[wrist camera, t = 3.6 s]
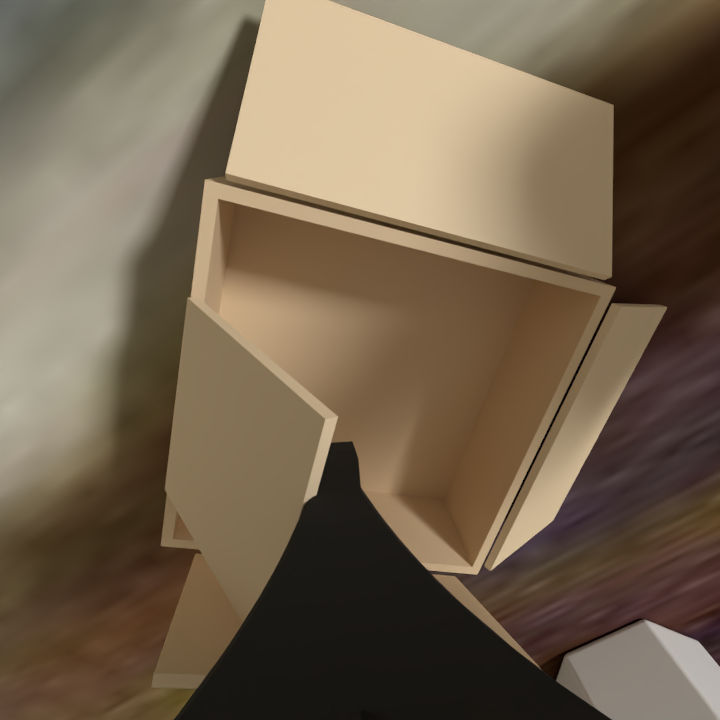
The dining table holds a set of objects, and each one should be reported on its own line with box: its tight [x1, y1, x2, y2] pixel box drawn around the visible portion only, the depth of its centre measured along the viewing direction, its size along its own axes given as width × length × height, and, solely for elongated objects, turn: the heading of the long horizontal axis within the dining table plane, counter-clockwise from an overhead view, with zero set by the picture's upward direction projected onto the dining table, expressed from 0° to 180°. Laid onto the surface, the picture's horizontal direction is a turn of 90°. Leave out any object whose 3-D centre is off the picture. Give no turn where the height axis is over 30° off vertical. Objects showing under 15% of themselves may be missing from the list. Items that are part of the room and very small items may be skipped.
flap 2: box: [225, 0, 614, 280], centre depth 11 cm, size 9×1×5 cm
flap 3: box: [151, 554, 543, 689], centre depth 11 cm, size 8×1×5 cm, turn 75°
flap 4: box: [484, 303, 667, 571], centre depth 15 cm, size 1×9×5 cm
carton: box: [161, 176, 616, 575], centre depth 13 cm, size 10×10×4 cm
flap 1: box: [165, 298, 338, 623], centre depth 9 cm, size 1×5×5 cm
